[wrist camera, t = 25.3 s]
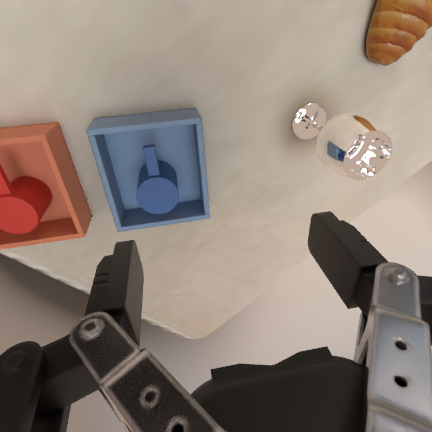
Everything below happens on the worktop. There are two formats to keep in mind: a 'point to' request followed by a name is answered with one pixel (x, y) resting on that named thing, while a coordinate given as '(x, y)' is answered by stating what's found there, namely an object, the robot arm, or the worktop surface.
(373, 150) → the wineglass
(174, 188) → the blue scoop
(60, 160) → the red bin
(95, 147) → the blue bin
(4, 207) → the red scoop
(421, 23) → the pastry
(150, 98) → the worktop surface
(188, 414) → the robot arm
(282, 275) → the worktop surface
